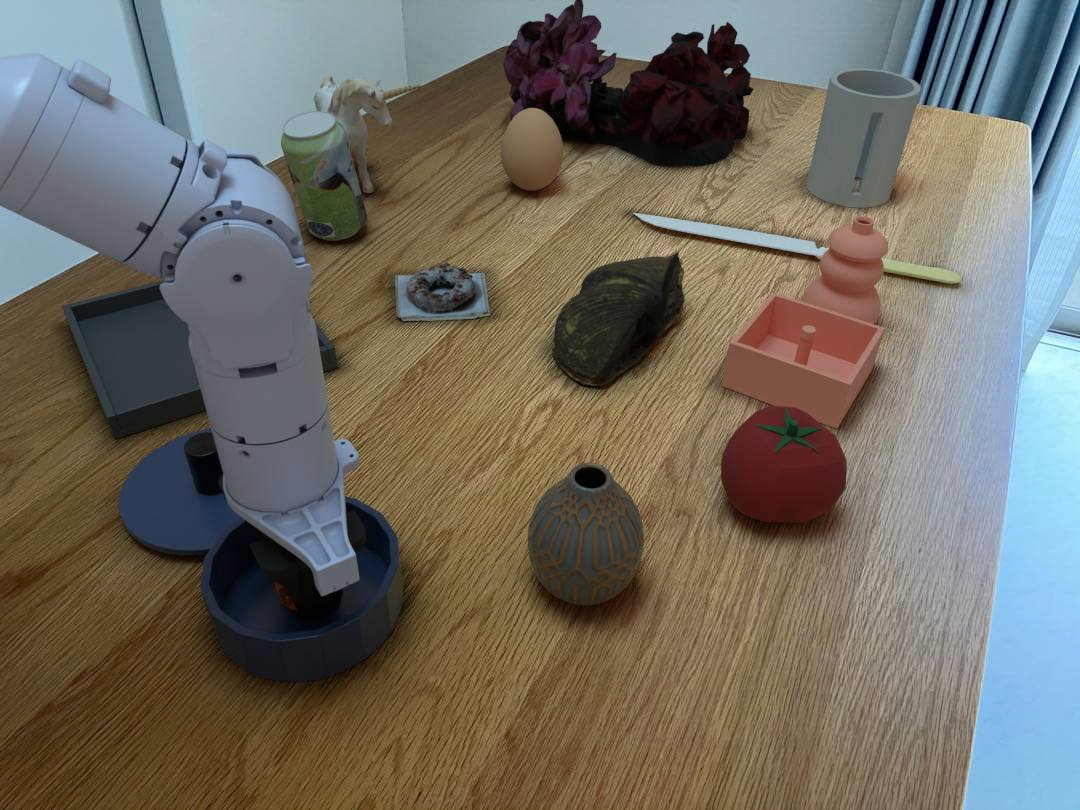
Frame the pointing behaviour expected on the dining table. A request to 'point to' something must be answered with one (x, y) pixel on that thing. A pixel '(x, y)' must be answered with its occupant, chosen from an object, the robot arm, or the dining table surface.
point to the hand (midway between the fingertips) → (307, 587)
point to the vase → (585, 537)
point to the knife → (793, 246)
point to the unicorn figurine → (357, 112)
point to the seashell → (617, 317)
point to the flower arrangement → (633, 90)
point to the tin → (282, 634)
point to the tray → (143, 358)
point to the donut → (441, 294)
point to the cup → (862, 136)
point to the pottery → (816, 332)
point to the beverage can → (323, 175)
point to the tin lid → (177, 497)
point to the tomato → (783, 466)
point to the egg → (532, 150)
